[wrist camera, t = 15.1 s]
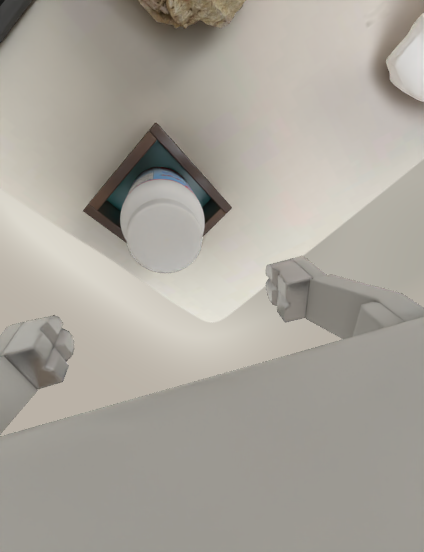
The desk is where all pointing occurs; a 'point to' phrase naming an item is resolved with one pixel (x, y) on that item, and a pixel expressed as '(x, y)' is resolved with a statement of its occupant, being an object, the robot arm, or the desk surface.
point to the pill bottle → (162, 221)
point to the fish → (409, 62)
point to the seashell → (192, 11)
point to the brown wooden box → (147, 154)
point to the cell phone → (10, 14)
